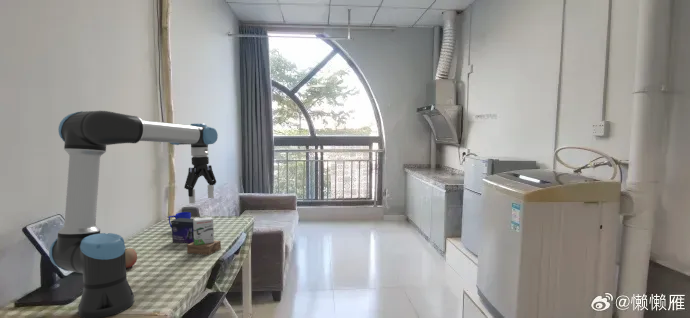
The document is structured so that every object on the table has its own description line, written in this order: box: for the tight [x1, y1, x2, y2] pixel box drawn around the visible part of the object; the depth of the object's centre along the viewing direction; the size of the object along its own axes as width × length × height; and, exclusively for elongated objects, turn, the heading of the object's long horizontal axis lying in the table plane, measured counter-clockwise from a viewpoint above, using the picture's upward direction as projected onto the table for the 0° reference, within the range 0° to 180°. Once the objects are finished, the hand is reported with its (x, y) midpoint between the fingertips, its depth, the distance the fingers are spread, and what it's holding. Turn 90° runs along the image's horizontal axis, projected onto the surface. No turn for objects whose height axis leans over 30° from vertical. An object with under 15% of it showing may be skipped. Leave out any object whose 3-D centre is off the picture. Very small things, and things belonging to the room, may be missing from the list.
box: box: [170, 218, 194, 245], centre depth 186 cm, size 17×7×12 cm, turn 76°
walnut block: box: [186, 239, 222, 256], centre depth 171 cm, size 9×12×4 cm
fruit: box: [125, 247, 138, 269], centre depth 151 cm, size 8×8×8 cm
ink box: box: [192, 216, 215, 245], centre depth 171 cm, size 9×5×12 cm, turn 122°
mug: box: [168, 211, 192, 229], centre depth 209 cm, size 8×12×10 cm
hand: (201, 200), depth 169 cm, fingers open, 13 cm apart
